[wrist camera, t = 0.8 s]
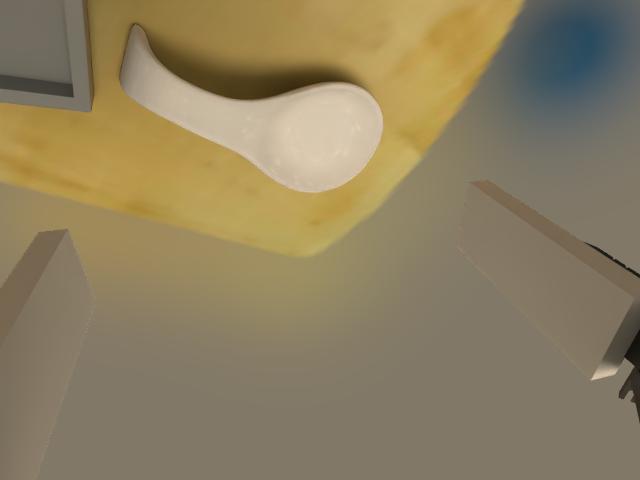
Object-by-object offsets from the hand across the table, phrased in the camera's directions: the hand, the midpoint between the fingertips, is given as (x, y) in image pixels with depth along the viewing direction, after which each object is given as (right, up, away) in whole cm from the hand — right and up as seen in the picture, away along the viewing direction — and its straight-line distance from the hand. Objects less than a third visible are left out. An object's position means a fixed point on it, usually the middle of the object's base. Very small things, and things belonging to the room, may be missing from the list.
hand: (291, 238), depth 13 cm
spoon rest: (-4, +13, +24) cm, 27 cm away
